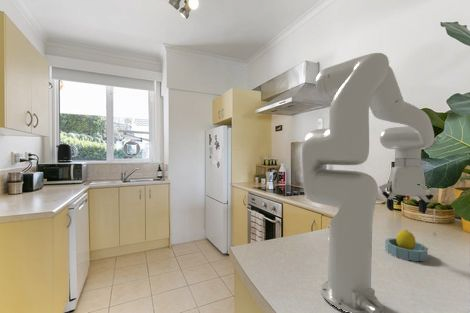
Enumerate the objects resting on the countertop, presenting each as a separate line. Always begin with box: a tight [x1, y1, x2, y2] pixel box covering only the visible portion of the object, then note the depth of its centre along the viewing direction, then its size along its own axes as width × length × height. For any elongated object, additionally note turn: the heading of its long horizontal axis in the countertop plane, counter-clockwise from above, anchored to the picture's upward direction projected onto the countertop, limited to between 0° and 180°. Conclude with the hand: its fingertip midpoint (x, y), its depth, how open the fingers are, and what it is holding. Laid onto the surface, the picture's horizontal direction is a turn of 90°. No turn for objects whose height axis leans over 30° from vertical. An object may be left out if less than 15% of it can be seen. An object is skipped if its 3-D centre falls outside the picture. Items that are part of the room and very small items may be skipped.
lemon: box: [395, 229, 417, 250], centre depth 81 cm, size 6×6×8 cm
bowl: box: [384, 237, 429, 262], centre depth 81 cm, size 12×12×4 cm
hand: (406, 211), depth 81 cm, fingers open, 9 cm apart
